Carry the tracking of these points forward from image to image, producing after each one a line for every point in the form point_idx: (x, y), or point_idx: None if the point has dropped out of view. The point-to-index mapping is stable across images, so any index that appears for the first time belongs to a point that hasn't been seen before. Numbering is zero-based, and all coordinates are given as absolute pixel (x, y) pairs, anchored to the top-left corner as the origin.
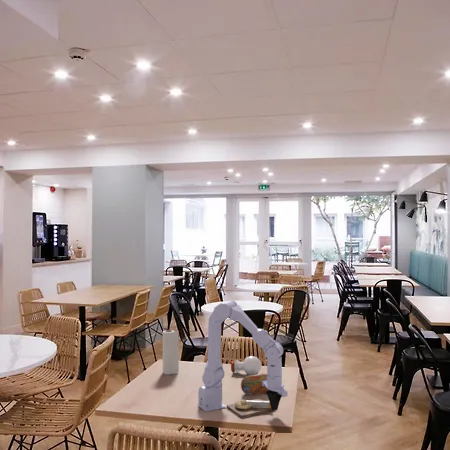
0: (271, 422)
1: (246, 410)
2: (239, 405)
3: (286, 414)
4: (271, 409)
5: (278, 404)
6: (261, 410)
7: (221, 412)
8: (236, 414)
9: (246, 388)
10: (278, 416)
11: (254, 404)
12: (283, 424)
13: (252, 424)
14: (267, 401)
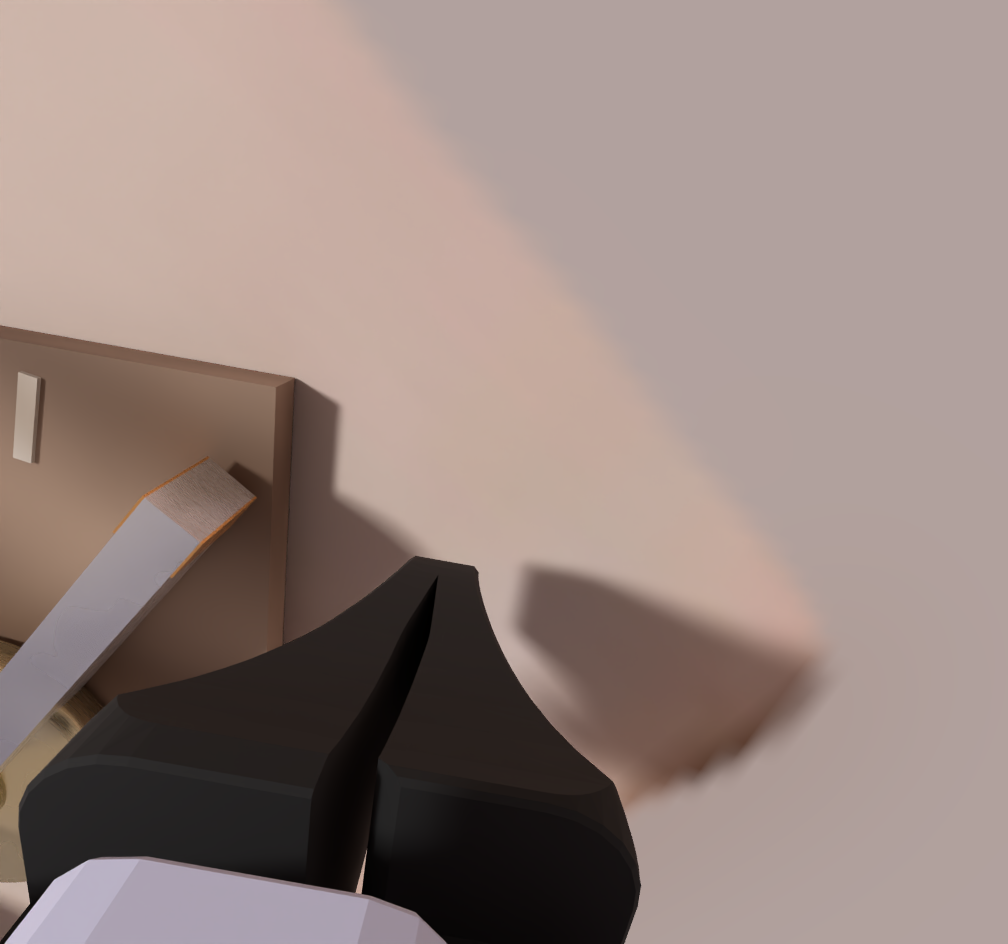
0: (601, 729)
1: None
2: (2, 854)
3: (541, 357)
4: (276, 478)
5: (486, 620)
6: (242, 643)
7: (10, 913)
8: None
9: None
10: (514, 521)
11: (65, 698)
12: (769, 665)
13: None
14: (121, 555)
